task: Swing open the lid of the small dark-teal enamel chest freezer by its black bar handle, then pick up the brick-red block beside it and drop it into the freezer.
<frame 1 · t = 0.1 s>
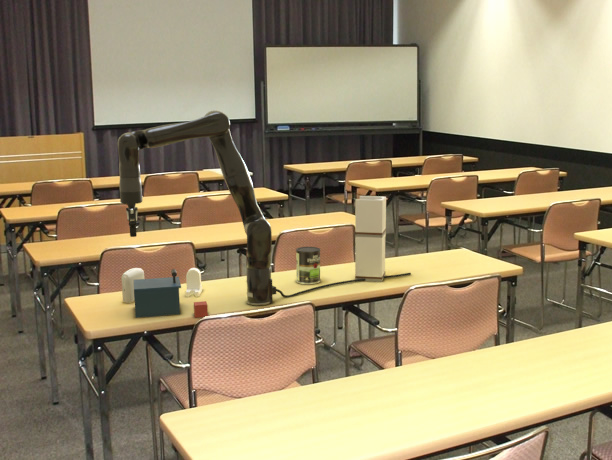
hand: (133, 234, 271), 29 cm above the table, tool pointing down, fingers open, 8 cm apart
tall white pillar box: (370, 278, 326), on the table
photo printer: (134, 300, 293), on the table
freezer: (157, 310, 279), on the table
coffee can: (308, 281, 321), on the table
block: (200, 315, 274), on the table
freezer lid: (156, 278, 277), point 12 cm above the table, hinge at 0.0°
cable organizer: (194, 293, 302), on the table
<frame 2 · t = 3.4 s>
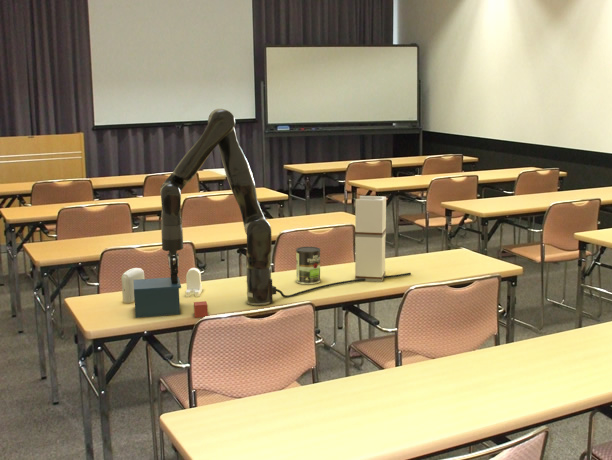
hand: (174, 281, 279), 11 cm above the table, tool pointing down, fingers closed on freezer lid, 5 cm apart
freezer lid: (156, 278, 277), point 12 cm above the table, hinge at -0.2°, touching freezer, gripper
everything else where it was.
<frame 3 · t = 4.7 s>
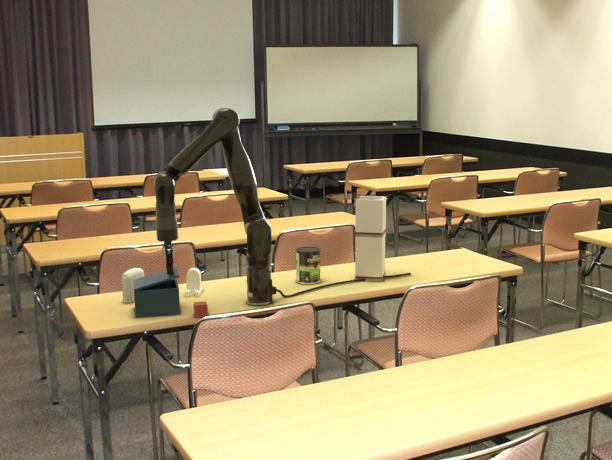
hand: (169, 272, 278), 14 cm above the table, tool pointing down, fingers closed on freezer lid, 5 cm apart
freezer lid: (154, 273, 276), point 14 cm above the table, hinge at 14.3°, touching gripper
everything else where it was.
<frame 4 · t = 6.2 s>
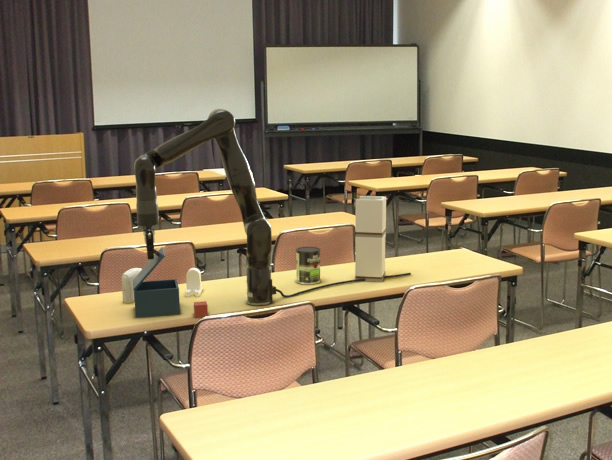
hand: (150, 257, 275), 20 cm above the table, tool pointing down, fingers closed on freezer lid, 5 cm apart
freezer lid: (144, 264, 275), point 18 cm above the table, hinge at 47.6°, touching gripper
everything else where it was.
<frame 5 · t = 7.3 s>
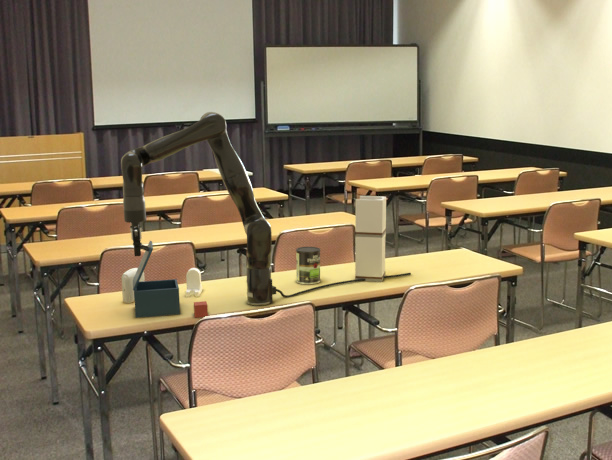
hand: (137, 254, 273), 22 cm above the table, tool pointing down, fingers closed on freezer lid, 5 cm apart
freezer lid: (137, 263, 274), point 19 cm above the table, hinge at 64.8°, touching gripper
everything else where it was.
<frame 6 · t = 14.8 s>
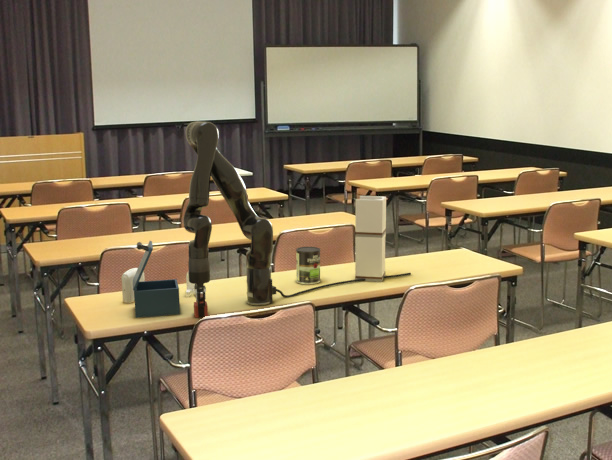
hand: (200, 314, 274), 0 cm above the table, tool pointing down, fingers closed on block, 4 cm apart
block: (200, 315, 274), on the table, touching gripper
freezer lid: (137, 263, 274), point 19 cm above the table, hinge at 65.0°
everything else where it was.
when the fingers open (11 cm above the table, at t = 19.5 s): block drops 10 cm, resting on freezer.
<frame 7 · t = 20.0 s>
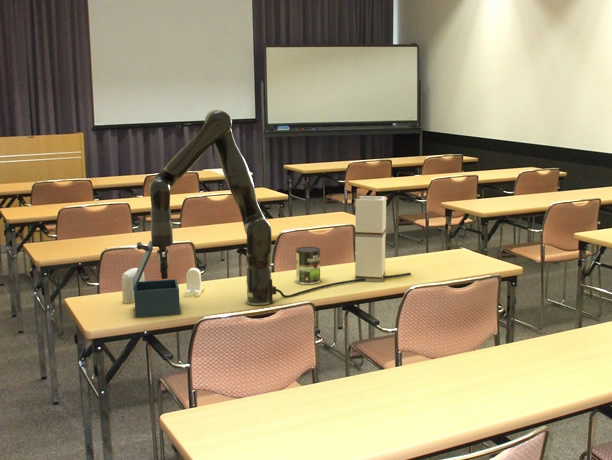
hand: (164, 275, 278), 13 cm above the table, tool pointing down, fingers open, 8 cm apart
block: (165, 308, 280), point 1 cm above the table, touching freezer
everything else where it was.
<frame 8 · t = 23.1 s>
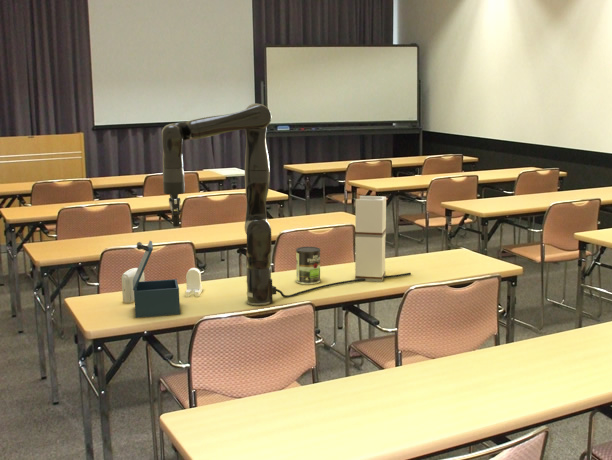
hand: (175, 224, 275), 32 cm above the table, tool pointing down, fingers open, 8 cm apart
nothing on the table moved.
at the end: freezer lid at +65° (first picture: +0°); block inside the target area in the freezer (3.0 cm from its centre), point 0.8 cm above the freezer's base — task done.
